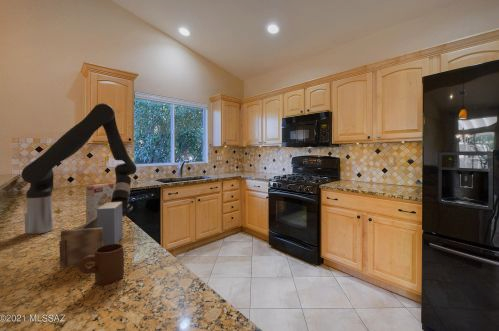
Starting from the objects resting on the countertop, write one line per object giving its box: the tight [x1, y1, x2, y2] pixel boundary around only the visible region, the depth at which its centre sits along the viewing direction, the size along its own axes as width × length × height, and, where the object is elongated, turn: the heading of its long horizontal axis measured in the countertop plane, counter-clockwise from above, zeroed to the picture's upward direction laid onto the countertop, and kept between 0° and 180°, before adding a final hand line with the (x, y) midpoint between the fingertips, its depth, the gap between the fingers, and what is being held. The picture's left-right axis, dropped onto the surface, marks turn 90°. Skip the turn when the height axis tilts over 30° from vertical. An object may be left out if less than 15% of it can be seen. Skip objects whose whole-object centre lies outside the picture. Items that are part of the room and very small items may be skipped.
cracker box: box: [85, 182, 115, 223], centre depth 133 cm, size 14×6×21 cm, turn 168°
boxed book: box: [97, 202, 124, 246], centre depth 100 cm, size 6×14×16 cm, turn 17°
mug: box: [77, 243, 125, 285], centre depth 69 cm, size 12×8×9 cm, turn 149°
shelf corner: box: [58, 217, 103, 269], centre depth 93 cm, size 12×32×12 cm, turn 16°
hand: (115, 223), depth 108 cm, fingers closed
